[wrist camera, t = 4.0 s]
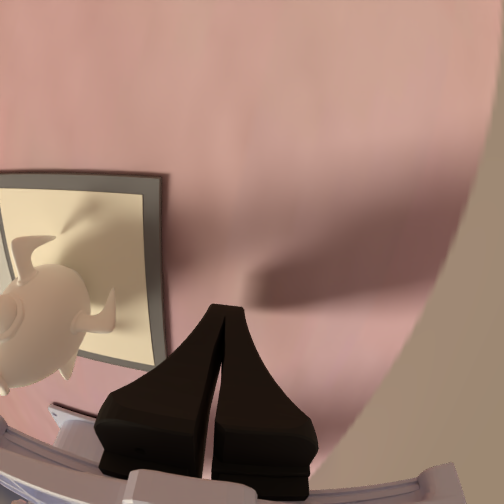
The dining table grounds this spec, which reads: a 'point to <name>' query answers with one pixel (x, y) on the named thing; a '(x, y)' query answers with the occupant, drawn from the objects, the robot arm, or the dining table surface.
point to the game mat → (96, 251)
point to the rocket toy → (44, 318)
